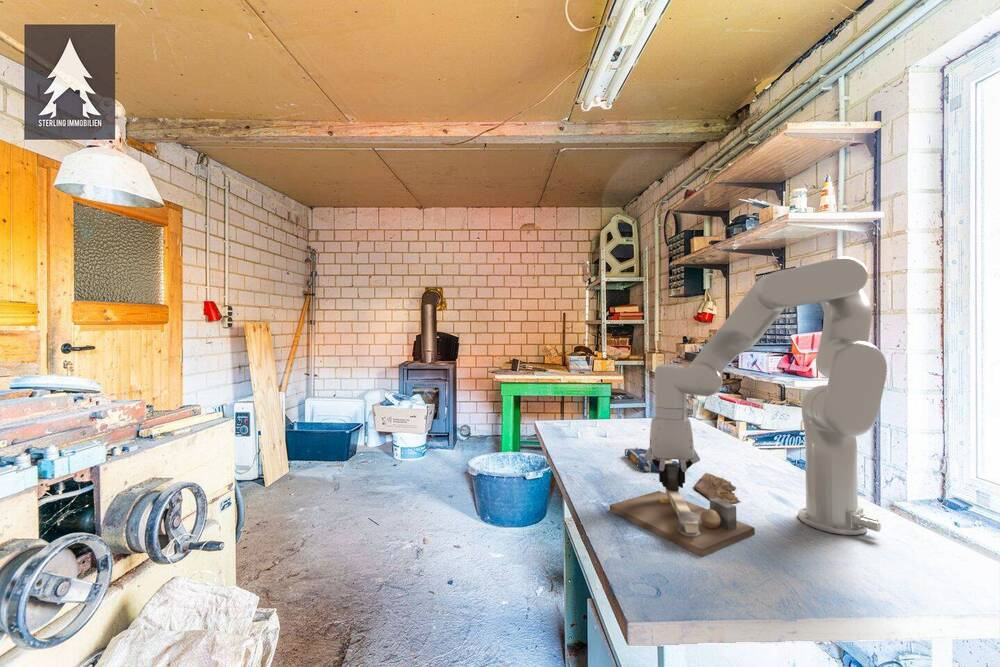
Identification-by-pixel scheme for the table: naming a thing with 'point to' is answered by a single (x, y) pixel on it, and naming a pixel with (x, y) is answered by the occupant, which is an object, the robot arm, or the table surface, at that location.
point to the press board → (662, 520)
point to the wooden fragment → (716, 488)
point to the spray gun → (640, 460)
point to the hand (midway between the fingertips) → (672, 484)
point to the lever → (680, 501)
